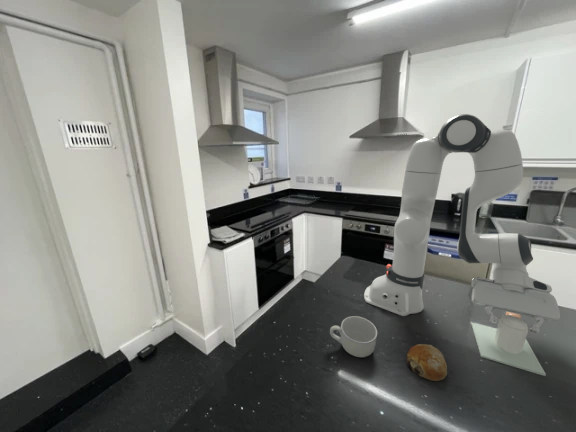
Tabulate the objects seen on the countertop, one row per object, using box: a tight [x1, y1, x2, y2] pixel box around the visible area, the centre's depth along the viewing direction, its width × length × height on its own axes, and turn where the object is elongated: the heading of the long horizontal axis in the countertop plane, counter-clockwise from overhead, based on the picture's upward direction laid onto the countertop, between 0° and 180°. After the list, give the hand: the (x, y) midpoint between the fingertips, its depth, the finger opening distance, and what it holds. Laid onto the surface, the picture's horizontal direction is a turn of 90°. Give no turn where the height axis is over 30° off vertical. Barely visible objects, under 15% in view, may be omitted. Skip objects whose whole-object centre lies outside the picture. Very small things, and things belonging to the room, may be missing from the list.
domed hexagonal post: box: [494, 314, 529, 354], centre depth 73 cm, size 6×6×9 cm
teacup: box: [329, 315, 378, 358], centre depth 75 cm, size 14×11×8 cm
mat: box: [471, 322, 547, 377], centre depth 75 cm, size 14×16×1 cm
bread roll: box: [406, 343, 448, 382], centre depth 68 cm, size 10×10×8 cm
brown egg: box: [504, 311, 522, 319], centre depth 86 cm, size 4×4×3 cm
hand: (513, 327), depth 72 cm, fingers open, 8 cm apart
